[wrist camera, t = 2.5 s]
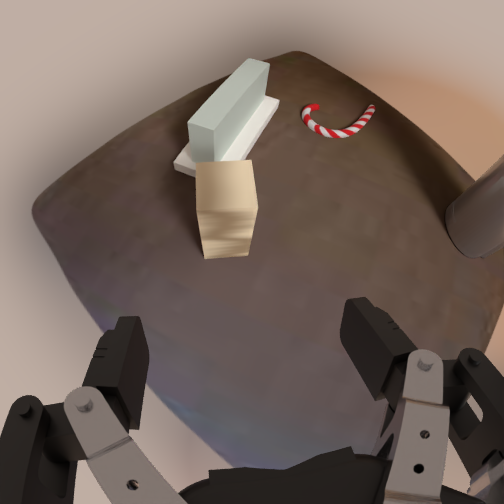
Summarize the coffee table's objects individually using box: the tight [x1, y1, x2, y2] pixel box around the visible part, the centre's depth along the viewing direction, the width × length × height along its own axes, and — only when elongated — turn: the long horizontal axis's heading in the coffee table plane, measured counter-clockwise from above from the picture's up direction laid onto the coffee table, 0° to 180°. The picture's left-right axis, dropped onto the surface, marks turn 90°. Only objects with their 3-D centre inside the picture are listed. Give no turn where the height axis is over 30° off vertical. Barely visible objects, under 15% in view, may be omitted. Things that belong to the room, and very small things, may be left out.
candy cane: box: [302, 104, 375, 138], centre depth 41 cm, size 8×1×15 cm
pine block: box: [196, 160, 258, 259], centre depth 27 cm, size 4×4×10 cm
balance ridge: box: [174, 58, 279, 178], centre depth 33 cm, size 7×17×8 cm, turn 156°
